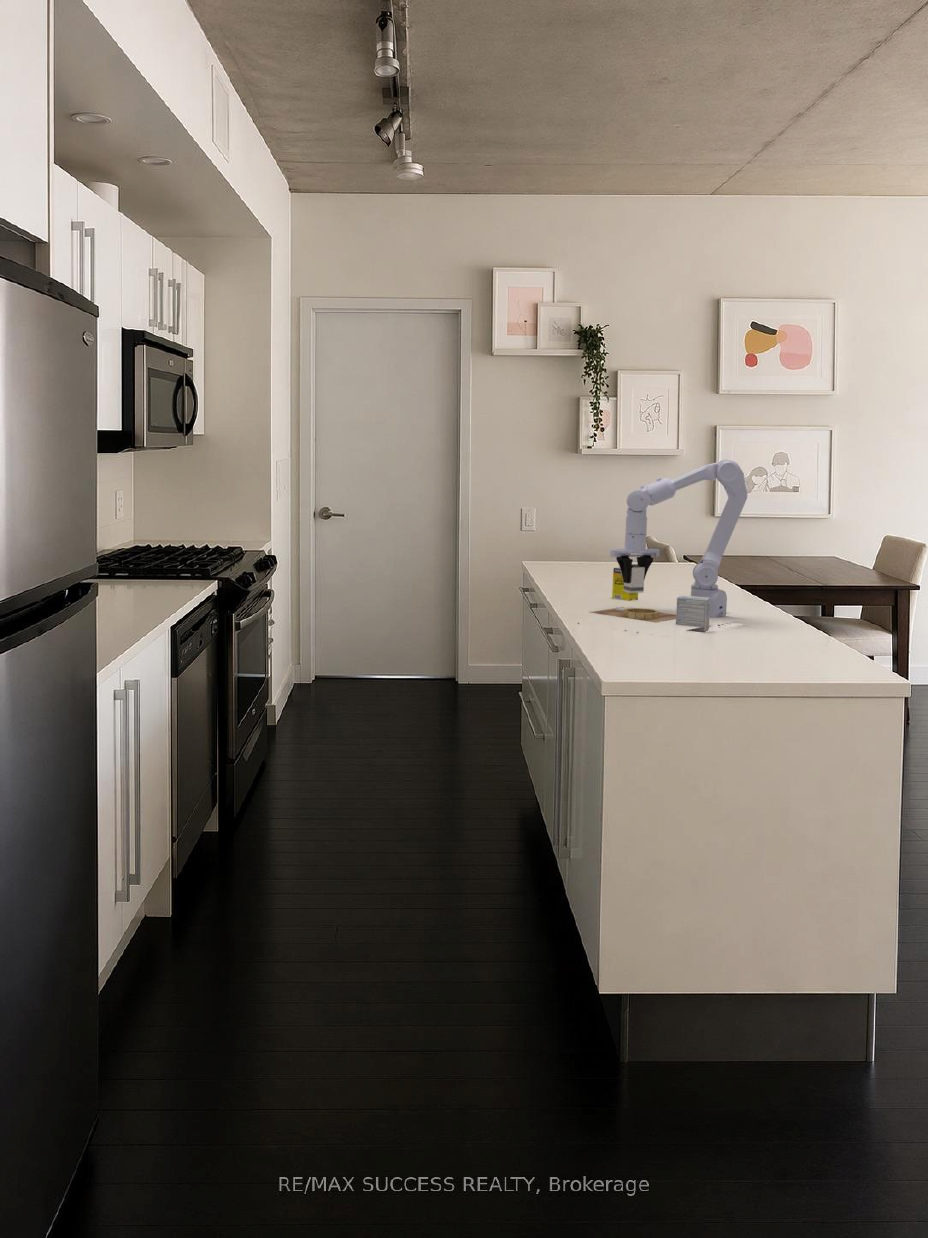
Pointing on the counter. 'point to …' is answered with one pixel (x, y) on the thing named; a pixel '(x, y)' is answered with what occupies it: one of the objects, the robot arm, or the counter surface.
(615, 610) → the grey pad
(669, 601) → the counter surface
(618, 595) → the supplement box
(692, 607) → the medicine box
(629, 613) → the brass eye
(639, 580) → the steel post
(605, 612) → the walnut board
